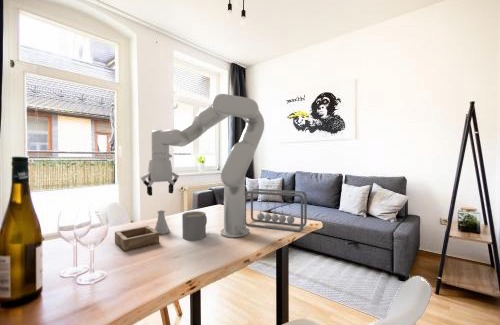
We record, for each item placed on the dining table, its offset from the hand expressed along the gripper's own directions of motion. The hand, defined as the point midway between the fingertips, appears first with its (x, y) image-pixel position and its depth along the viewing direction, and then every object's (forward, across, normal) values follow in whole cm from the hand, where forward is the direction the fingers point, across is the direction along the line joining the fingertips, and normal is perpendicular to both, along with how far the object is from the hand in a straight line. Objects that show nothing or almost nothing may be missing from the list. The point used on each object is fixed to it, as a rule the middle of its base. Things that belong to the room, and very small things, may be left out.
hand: (160, 194), depth 112 cm
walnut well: (+18, +13, +7) cm, 23 cm away
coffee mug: (+18, -10, +15) cm, 26 cm away
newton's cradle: (+18, -46, +29) cm, 58 cm away
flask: (+18, 0, 0) cm, 18 cm away
